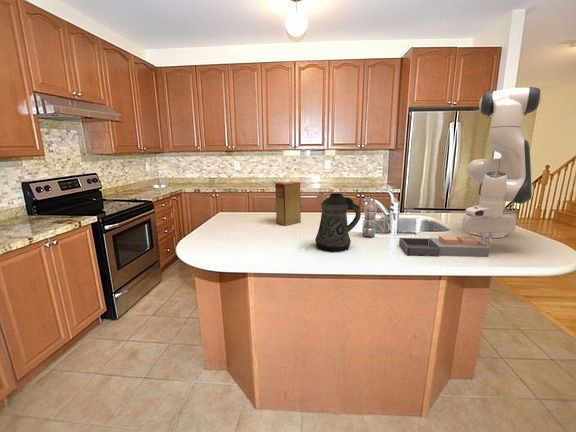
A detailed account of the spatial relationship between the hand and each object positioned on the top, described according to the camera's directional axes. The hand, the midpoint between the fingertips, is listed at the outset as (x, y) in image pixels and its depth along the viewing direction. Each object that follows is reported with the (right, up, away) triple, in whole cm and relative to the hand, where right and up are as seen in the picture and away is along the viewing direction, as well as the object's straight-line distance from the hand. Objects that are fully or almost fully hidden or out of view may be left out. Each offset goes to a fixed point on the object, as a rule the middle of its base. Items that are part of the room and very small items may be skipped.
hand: (485, 241), depth 128 cm
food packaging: (-86, +7, +55) cm, 102 cm away
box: (-28, -4, +4) cm, 28 cm away
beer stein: (-64, -3, +11) cm, 65 cm away
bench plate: (-11, -4, +2) cm, 12 cm away
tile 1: (-15, -1, +2) cm, 15 cm away
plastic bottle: (-44, 0, +26) cm, 51 cm away
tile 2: (-8, -1, +1) cm, 8 cm away
